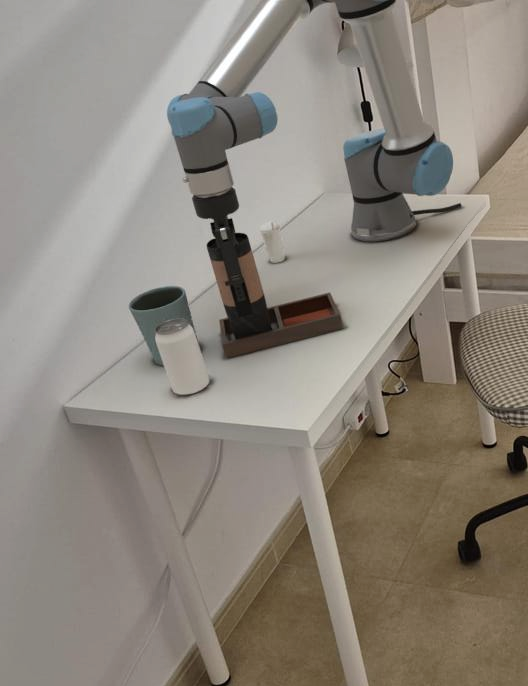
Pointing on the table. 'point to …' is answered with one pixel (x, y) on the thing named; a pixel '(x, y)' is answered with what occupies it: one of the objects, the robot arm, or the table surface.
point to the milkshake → (272, 241)
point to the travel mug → (260, 318)
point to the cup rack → (287, 325)
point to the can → (181, 356)
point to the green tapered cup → (159, 313)
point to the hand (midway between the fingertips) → (243, 301)
